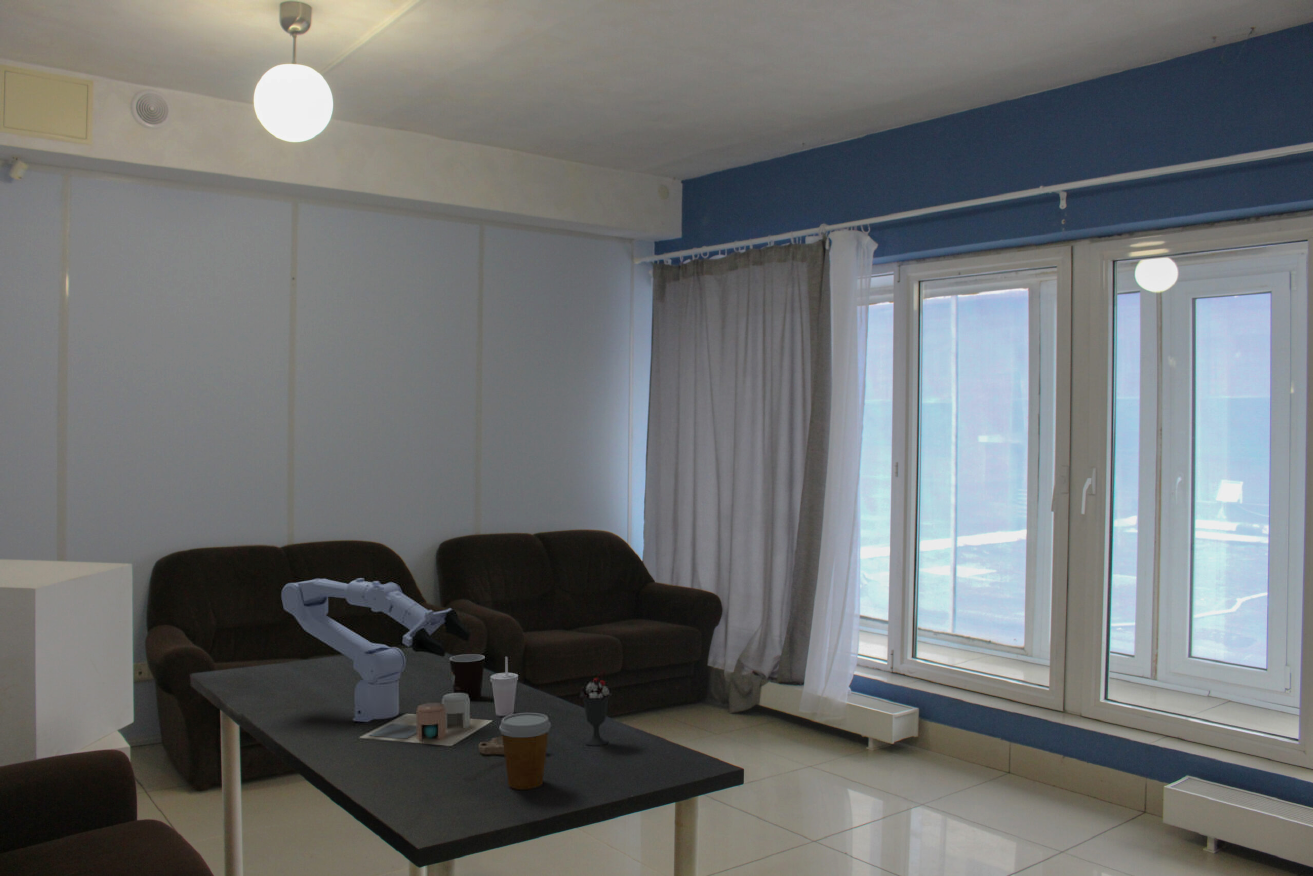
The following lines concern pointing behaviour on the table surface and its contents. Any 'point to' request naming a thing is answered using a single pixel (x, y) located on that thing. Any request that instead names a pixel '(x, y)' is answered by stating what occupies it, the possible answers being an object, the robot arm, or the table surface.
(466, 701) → the white round stool
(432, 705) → the pink stool
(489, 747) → the oil lamp
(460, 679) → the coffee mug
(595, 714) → the sundae
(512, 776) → the disposable coffee cup
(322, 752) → the table surface
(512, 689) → the smoothie
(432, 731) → the marble
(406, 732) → the board
